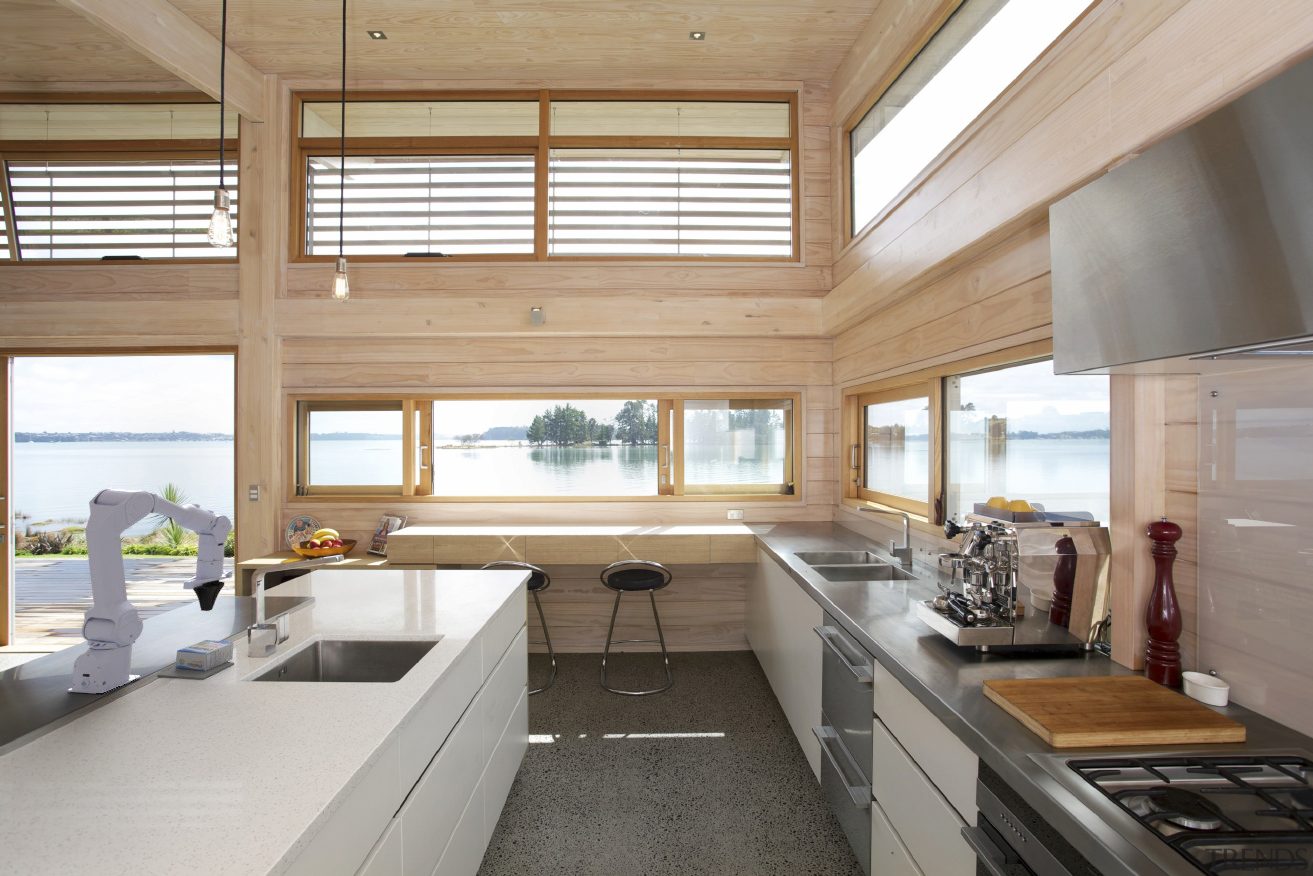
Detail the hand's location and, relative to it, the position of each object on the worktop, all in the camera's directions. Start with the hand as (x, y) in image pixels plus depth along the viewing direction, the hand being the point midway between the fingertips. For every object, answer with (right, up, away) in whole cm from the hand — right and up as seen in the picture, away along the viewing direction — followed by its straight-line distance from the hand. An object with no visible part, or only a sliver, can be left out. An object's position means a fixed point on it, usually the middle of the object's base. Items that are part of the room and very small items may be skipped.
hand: (206, 610), depth 158 cm
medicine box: (+8, -8, -6) cm, 13 cm away
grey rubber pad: (+8, -11, -14) cm, 19 cm away
